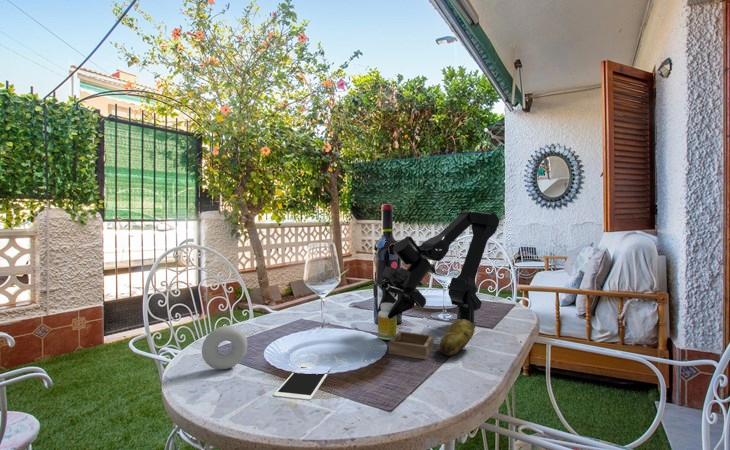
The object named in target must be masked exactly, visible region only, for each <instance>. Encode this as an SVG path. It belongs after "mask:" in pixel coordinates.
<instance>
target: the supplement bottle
mask: <svg viewBox="0 0 730 450" xmlns="http://www.w3.org/2000/svg"><path fill="white" fill-rule="evenodd" d="M394 304H395V303H381V307H380V308H381V311H379V313H378V312H377V337H378V338H379V339H381V340H385V341H386V340H388V341H390V340H391V339H392V338H393V337H394V336H395V335H396V334H397V317H398V315H397V316H395V317H393V318H391V319H389V318H388V317H387V316H388V314H389V312H390V311H391V309H392V307H393V306H394Z"/></svg>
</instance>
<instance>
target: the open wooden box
mask: <svg viewBox="0 0 730 450" xmlns="http://www.w3.org/2000/svg"><path fill="white" fill-rule="evenodd" d="M433 349H434V335H430V334H423V333H415V332H407V331H400V330H399V331H398V332H396V335H395V336H394V337H393V338H392V339H391V340H388V354H389V355H395V356H401V357H408V358H413V359H419V360H420V359H422V360H427V359H428V358H429V355H430V354H431V351H432V350H433ZM426 358H427V359H426Z"/></svg>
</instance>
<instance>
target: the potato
mask: <svg viewBox="0 0 730 450" xmlns="http://www.w3.org/2000/svg"><path fill="white" fill-rule="evenodd" d="M474 332H475V328H474V325H473V323H471V322H470V321H468V320H466V319H457V318H456V319H455V320H454V321H452V323H451V324H450V325H449V327H448V328H447V330H446V331H445V332H444V334H443V336H442V337H441V339H440V342H439V349H440V351H441V353H442V354H443V355H446V357H449V356H454V355H456V354H457V353H458V352H459V351H461V350H463V349H464V348H465V347H466V346H467V345H468V343H469V342H470V340H472V338H473V337H474V334H475V333H474Z"/></svg>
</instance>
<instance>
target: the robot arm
mask: <svg viewBox="0 0 730 450" xmlns="http://www.w3.org/2000/svg"><path fill="white" fill-rule="evenodd" d="M499 225H500V218H499V217H498V215H497V214H496V213H495V212H477V211H473V210H462V211H461V212H459V214H458V216H457V217H456V218H455V219H454V220H453V221H451V222H450V224H448V225H447V226H446V227H445V228H444V229H443V230H442V231H441V232H440V233H439V234H436V235H435V236H432V237H430V238H428V239H426V240H425V241H423V242H422V243H421V244H420V245H418V244H417V243H416V242H415V241H414V239H413V238H412V236H405V238H403V239H401V240H398V242H396V243H395V244H394V245H393V248H392V252H393V253H394V254H395V255H396V256H397V257H398V258H399V260H401V262H402V263H403V264H404V265H408V267H407V268H403V267H400V266H399V267H398V268H393V267H390V266H385V268H384V269H383V270H384V271H383V273H382V275H381V276H382V278H386V279H389V280H388V281H385V280H386V279H384V280H382V279H381V280H382V281H380V280H379V281H377V283H376V286H378V288H379V289H380V290H381V293H382V294H381V300H380V303H379V305H378V308H377V311H376V312H377V314H378V313H379V311H381V308H380V307H381V303H393V304H394V306H393V307H392V309H391V311H390V312H389V314H388V316H387V317H388V318H389V319H391V318H393V317H395V316H397V317H398V315H400V314H402V313H405V312H406V311H409V310H411V309H415V308H416V307H417V308H419V309H424V307H425V305H426V304H427V298H426V296H424V294H422V293H421V291H419V289H417V288H418V287H419V288H421V287H422V286H423V285H424V284H423V283H422V281H423V279H424V278H425V277H426V276H427V274H428V273H431V274H436V273H437V272H436V265H435V264H433V263H431V262H430V261H433V262H441V261H442V260H443V259H444V258H445V257H446V256H447V254H448V253H449V249H450V246H451V244H452V243H453V242H455V241H456V240H457V238H459V237H460V235H462V234H463V233H464V232H465V231H466V230H467V229H468V228H469V227H471V232H472V238H471V241H470V244H469V247H468V250H467V254H466V256H465V258H464V259H465V260H464V261H463V265H462V268H461V271H460V273H459V275H458V276H457V277H451V280H450V284H449V286H448V287H447V289H448V296H449V298H450V302H451V305H453V306H456V320H457V319H466V320H468V321H470V322H471V323H473V325H474V329H476V326H477V322H476V321H475V319H476V318H475V317H476V316H475V314H476V313H475V311H477V310H479V309H481V306H482V301H481V299H480V298H479V297H478V295H476V294H477V291H478V289H477V287H478V286H477V283H476V277H477V274H478V271H479V268H480V264H481V262H482V259H483V255H484V253H485V250H486V246H487V242H488V241H489V239H490V238H491V237H493V235H494V234H495V233H496V231H497V230H498V227H499ZM390 280H391V281H390ZM384 285H385V286H384ZM395 297H397V299H396V298H395Z"/></svg>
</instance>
